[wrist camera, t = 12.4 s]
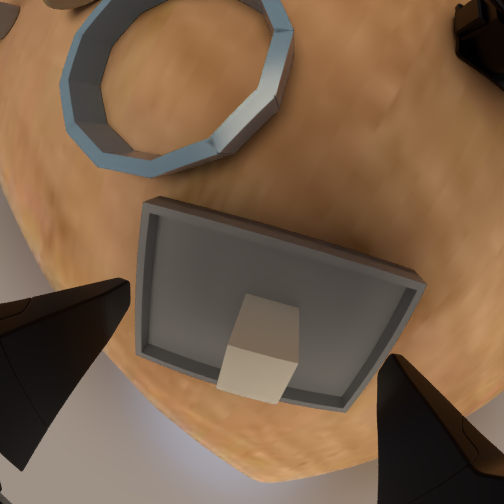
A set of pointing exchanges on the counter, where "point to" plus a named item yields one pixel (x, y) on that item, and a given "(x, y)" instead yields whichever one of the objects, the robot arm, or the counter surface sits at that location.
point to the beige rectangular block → (261, 350)
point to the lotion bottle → (7, 17)
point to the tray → (269, 287)
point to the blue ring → (151, 165)
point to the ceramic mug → (66, 3)
